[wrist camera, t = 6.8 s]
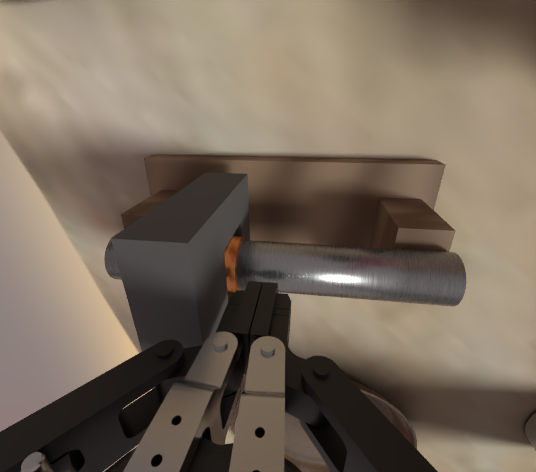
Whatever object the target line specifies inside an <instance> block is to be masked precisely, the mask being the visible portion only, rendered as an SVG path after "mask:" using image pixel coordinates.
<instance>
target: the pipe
mask: <svg viewBox="0 0 536 472" xmlns="http://www.w3.org/2000/svg"><path fill="white" fill-rule="evenodd" d="M116 235H117V234H116ZM224 257H225V268H226V280H227V292H236V291H237V290H241V289H244V290H245V288H246V286H247V283H248V281H257V282H271V283H278V292H281V293H293V294H306V295H318V296H330V297H343V298H355V299H368V300H380V301H392V302H405V303H417V304H429V305H442V306H456V305H458V304H459V303H460V301H461V300H462V298H463V296H464V293H465V288H466V272H465V268H464V264H463V262H462V260H461V258H460V257H459V255H457V254H456V253H454V252H442V251H425V250H408V249H390V248H373V247H356V246H339V245H321V244H304V243H287V242H270V241H252V240H245V238H244V237H239V236H232V238H231V240H230V242H229V243H228V245H227V247H226V248H225V250H224ZM105 267H106V270H107V272H108V274H109V275H110V276H111V277H112V278H114V279H120V280H122V277H121V274H120V270H119V266H118V263H117V259H116V255H115V252H114V248H113V245H112V241H111V240H110V241H109V243H108V245H107V248H106V252H105Z"/></svg>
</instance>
